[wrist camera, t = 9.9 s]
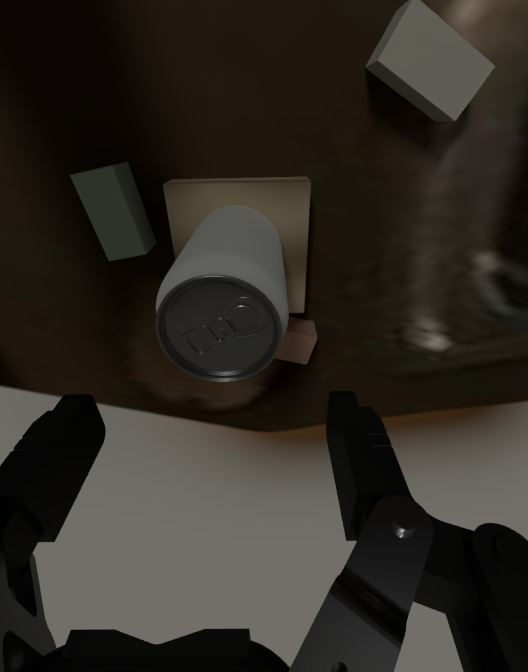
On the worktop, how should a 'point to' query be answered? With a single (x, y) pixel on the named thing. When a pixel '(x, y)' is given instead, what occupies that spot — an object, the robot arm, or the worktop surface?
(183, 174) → the worktop surface
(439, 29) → the brick cream
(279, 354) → the brick terracotta
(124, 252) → the brick sage
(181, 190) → the oak pad
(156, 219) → the worktop surface
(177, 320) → the can
